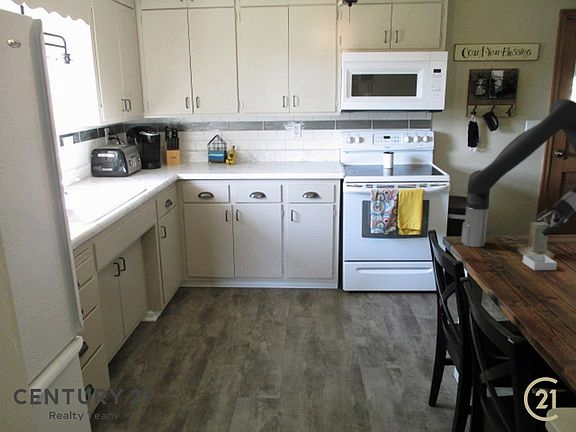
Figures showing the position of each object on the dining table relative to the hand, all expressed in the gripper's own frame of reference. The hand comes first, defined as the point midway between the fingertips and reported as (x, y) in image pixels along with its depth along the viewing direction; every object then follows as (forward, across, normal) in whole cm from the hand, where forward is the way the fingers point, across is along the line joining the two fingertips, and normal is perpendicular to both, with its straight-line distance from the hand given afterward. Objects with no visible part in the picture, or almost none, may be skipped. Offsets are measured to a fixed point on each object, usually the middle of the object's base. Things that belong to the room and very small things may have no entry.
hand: (538, 231), depth 205 cm
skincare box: (+6, 0, +6) cm, 9 cm away
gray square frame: (+12, +14, +3) cm, 18 cm away
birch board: (+7, 0, +7) cm, 10 cm away
